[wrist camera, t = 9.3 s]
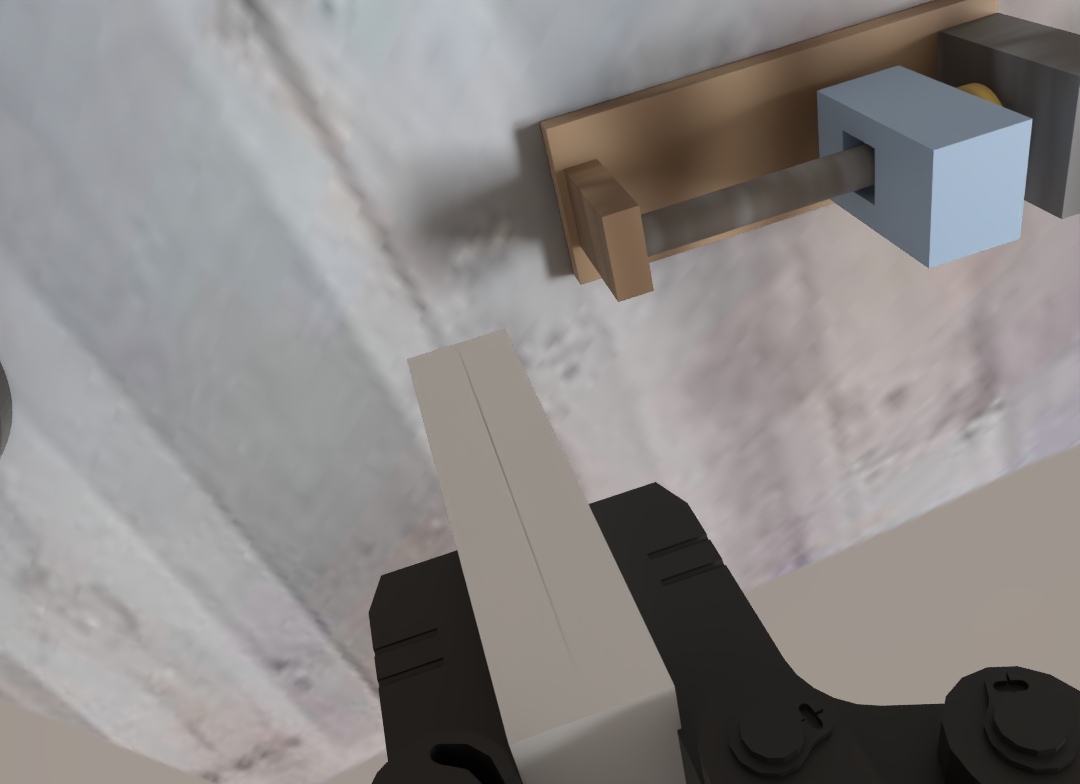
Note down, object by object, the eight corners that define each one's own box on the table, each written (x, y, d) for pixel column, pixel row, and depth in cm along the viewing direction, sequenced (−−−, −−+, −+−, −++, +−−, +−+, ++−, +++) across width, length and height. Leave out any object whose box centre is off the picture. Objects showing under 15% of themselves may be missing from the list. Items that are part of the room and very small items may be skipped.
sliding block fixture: (574, 274, 45) (639, 378, 36) (539, 121, 40) (605, 201, 32) (971, 147, 46) (1122, 219, 38) (982, -14, 41) (1156, 27, 33)
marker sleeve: (820, 192, 42) (928, 268, 35) (816, 90, 40) (933, 150, 32) (897, 168, 43) (1019, 238, 36) (898, 65, 40) (1032, 118, 33)
